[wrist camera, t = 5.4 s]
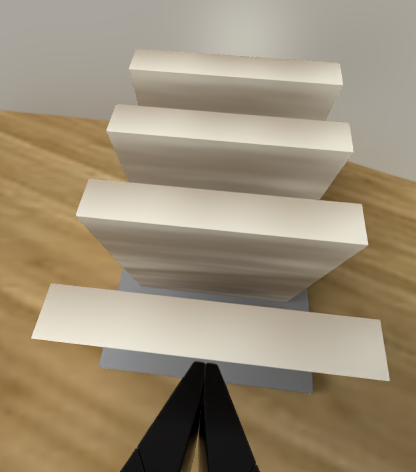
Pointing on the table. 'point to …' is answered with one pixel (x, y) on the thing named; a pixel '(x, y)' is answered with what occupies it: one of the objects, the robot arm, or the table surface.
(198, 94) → the domino
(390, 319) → the table surface
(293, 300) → the board
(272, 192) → the domino
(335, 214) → the domino
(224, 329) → the domino
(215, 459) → the robot arm
